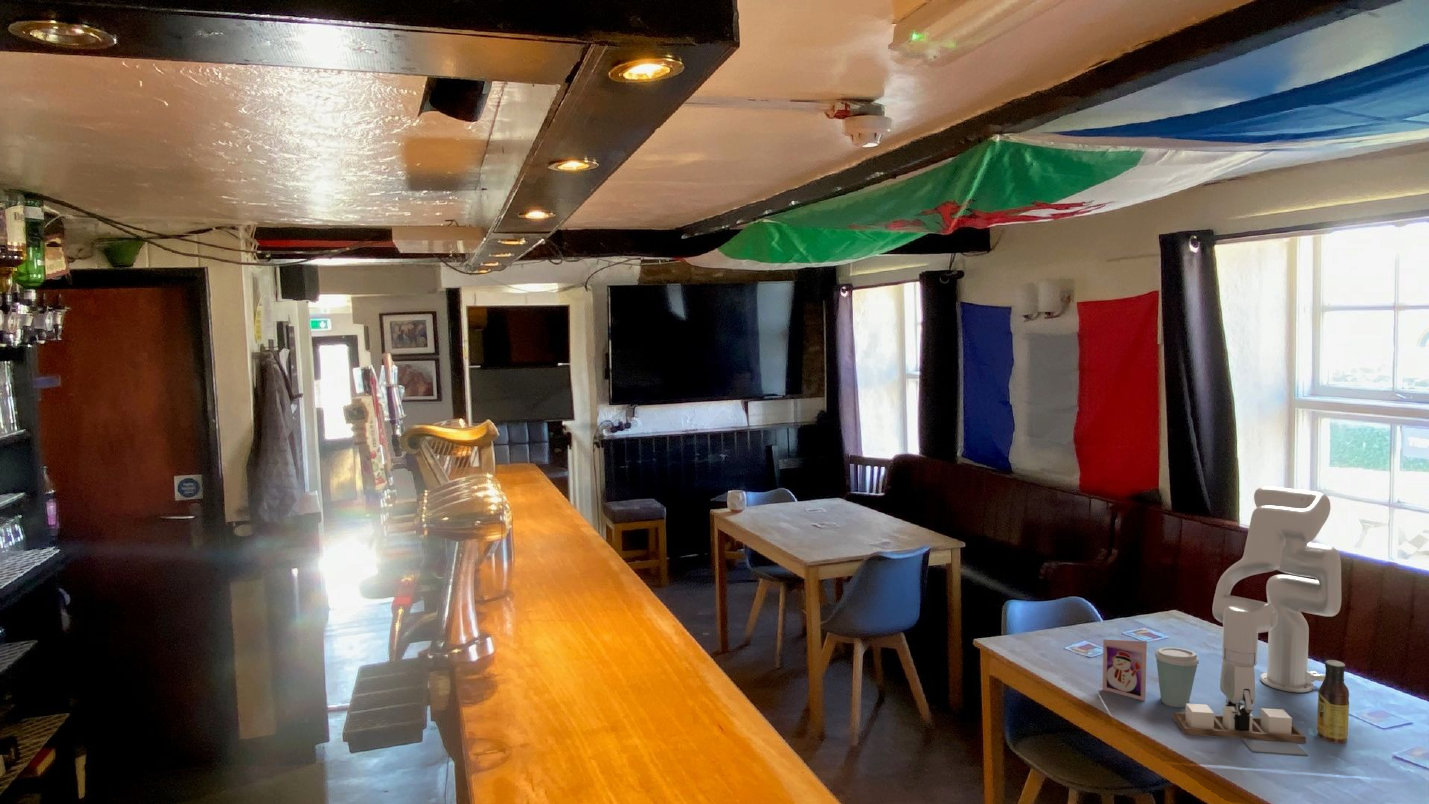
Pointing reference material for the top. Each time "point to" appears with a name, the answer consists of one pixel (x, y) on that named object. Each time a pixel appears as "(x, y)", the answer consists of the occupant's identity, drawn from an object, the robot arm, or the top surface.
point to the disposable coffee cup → (1176, 675)
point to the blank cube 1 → (1199, 716)
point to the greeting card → (1125, 667)
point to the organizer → (1223, 732)
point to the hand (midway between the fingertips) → (1237, 724)
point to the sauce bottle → (1333, 704)
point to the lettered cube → (1232, 718)
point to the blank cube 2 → (1275, 721)
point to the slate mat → (1274, 747)
